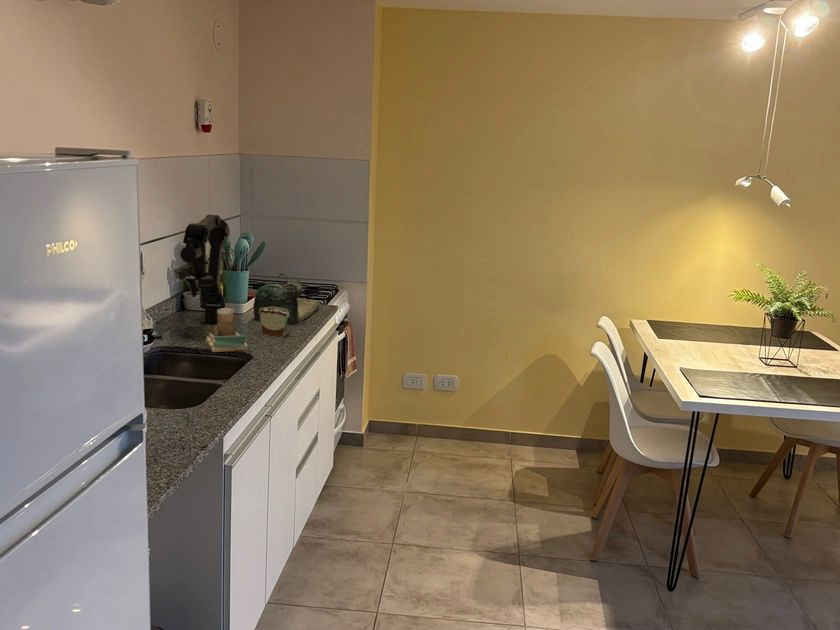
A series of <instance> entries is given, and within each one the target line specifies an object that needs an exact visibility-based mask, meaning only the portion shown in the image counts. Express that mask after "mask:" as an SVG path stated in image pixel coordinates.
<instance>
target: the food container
mask: <svg viewBox="0 0 840 630" xmlns="http://www.w3.org/2000/svg"><path fill="white" fill-rule="evenodd" d="M259 313H260V320H261V321H260V330H261V331H260V332H261V335H262V334H264V335H263V336H269V335H274V336H273V337H276V336H282V337H284V336H285V337H286V335H287V334H286V333H287V326H288V324H287V318H288V317H289V312H288V310H287V309H285V308H280V307H274V306H270V307H264V308H260V310H259ZM259 313H258V314H259ZM282 337H281V338H282ZM285 337H284V338H285Z"/></svg>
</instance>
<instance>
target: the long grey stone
mask: <svg viewBox="0 0 840 630" xmlns="http://www.w3.org/2000/svg"><path fill="white" fill-rule="evenodd" d="M297 302H298V321H300V322H302V321H303V320H306V319H307V318H309V317H310V316H312V315H313V314H314V313H315V312H316V311H317V310H318V308H319V306H320V305H319V304H320V303H319V301H318V300H316V299H307V298H305V297H303V298H301V297H298V298H297ZM314 311H315V312H314Z"/></svg>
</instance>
